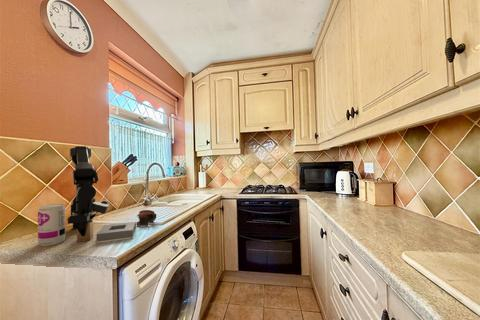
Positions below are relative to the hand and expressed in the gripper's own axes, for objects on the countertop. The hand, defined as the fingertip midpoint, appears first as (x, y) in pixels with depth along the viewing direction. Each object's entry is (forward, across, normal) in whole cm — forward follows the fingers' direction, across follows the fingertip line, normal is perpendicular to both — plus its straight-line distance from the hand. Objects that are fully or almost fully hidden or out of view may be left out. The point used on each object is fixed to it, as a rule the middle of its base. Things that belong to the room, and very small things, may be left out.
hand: (85, 234), depth 88 cm
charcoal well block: (+2, 0, -12) cm, 12 cm away
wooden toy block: (+2, 0, 0) cm, 2 cm away
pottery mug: (+2, +13, -23) cm, 27 cm away
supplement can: (+2, +1, +12) cm, 12 cm away
